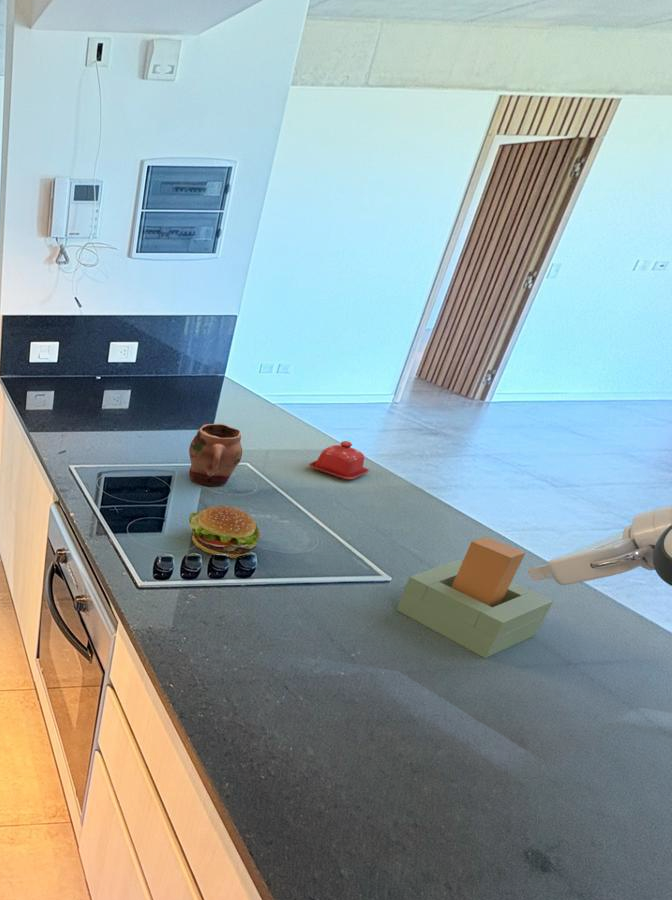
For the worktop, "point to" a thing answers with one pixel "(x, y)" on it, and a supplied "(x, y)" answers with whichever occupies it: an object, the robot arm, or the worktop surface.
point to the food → (224, 531)
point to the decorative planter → (214, 454)
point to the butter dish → (341, 461)
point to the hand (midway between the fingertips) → (550, 566)
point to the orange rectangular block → (488, 570)
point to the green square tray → (472, 611)
